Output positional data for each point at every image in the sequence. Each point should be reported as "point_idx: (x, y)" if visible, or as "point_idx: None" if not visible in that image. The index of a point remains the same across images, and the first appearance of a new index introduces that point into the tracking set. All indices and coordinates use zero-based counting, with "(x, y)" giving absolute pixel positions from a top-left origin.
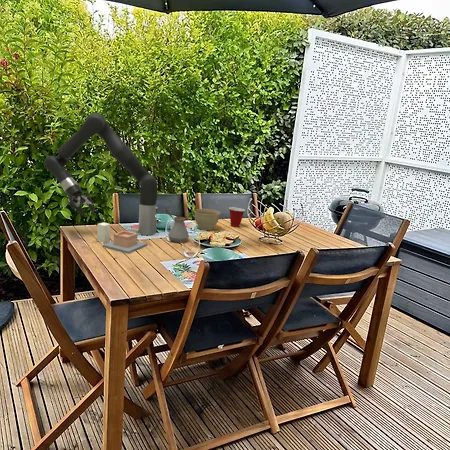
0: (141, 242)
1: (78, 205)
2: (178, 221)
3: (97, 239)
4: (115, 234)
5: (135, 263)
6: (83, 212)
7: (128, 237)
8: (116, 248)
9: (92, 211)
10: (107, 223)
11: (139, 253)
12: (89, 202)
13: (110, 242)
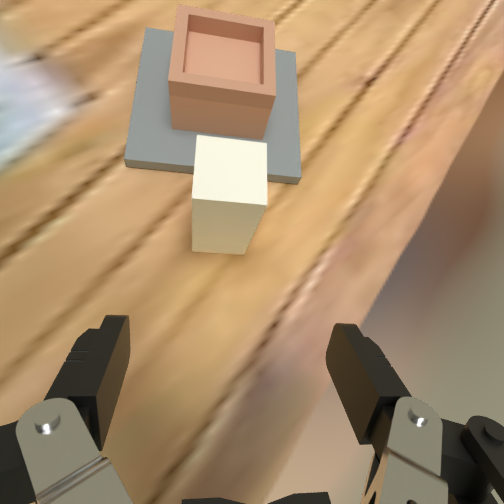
0: (148, 51)
1: (417, 424)
2: None
3: (246, 249)
4: (274, 85)
5: (353, 14)
6: (342, 324)
7: (265, 21)
8: (297, 105)
9: (129, 350)
10: (200, 156)
11: None
12: (71, 445)
13: None
